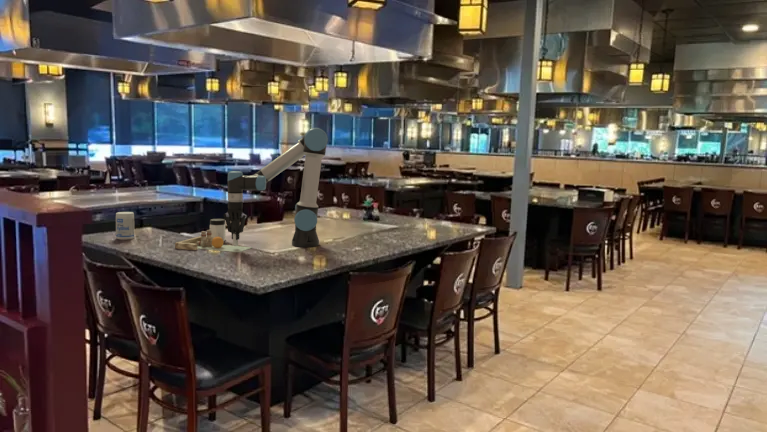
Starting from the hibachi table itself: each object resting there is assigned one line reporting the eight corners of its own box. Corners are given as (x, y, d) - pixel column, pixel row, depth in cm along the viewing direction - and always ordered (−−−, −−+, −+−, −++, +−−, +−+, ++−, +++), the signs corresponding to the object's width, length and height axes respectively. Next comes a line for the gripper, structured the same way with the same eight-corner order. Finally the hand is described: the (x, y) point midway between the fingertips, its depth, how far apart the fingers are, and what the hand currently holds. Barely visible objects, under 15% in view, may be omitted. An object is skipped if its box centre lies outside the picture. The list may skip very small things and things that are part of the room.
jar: (212, 242, 319) (211, 221, 317) (207, 240, 325) (207, 219, 324) (227, 241, 323) (227, 220, 322) (223, 238, 330) (223, 218, 329)
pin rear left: (207, 247, 304) (207, 231, 303) (204, 247, 302) (204, 232, 301) (203, 246, 305) (202, 231, 304) (200, 247, 303) (200, 231, 302)
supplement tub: (115, 240, 316) (114, 214, 314) (116, 237, 325) (115, 211, 323) (134, 239, 320) (134, 213, 318) (134, 236, 329) (134, 211, 327)
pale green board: (252, 247, 306) (252, 247, 306) (238, 252, 293) (238, 252, 293) (200, 243, 315) (200, 242, 315) (184, 247, 302) (184, 247, 302)
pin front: (213, 242, 307) (199, 241, 309) (210, 242, 304) (196, 241, 306) (212, 247, 306) (198, 245, 308) (210, 246, 304) (195, 245, 306)
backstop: (218, 243, 316) (218, 237, 316) (195, 250, 295) (195, 244, 295) (199, 241, 320) (199, 236, 319) (175, 248, 299) (175, 242, 298)
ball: (213, 241, 307) (221, 248, 306) (207, 244, 301) (216, 251, 301) (218, 233, 305) (227, 240, 305) (213, 236, 299) (222, 243, 299)
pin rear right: (212, 245, 309) (212, 230, 308) (209, 246, 307) (209, 230, 306) (208, 245, 310) (208, 229, 309) (205, 245, 308) (205, 230, 306)
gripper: (220, 201, 296) (220, 245, 299) (242, 202, 293) (242, 247, 296) (228, 199, 303) (228, 243, 306) (250, 201, 300) (250, 245, 303)
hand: (235, 245), depth 301 cm, fingers closed
